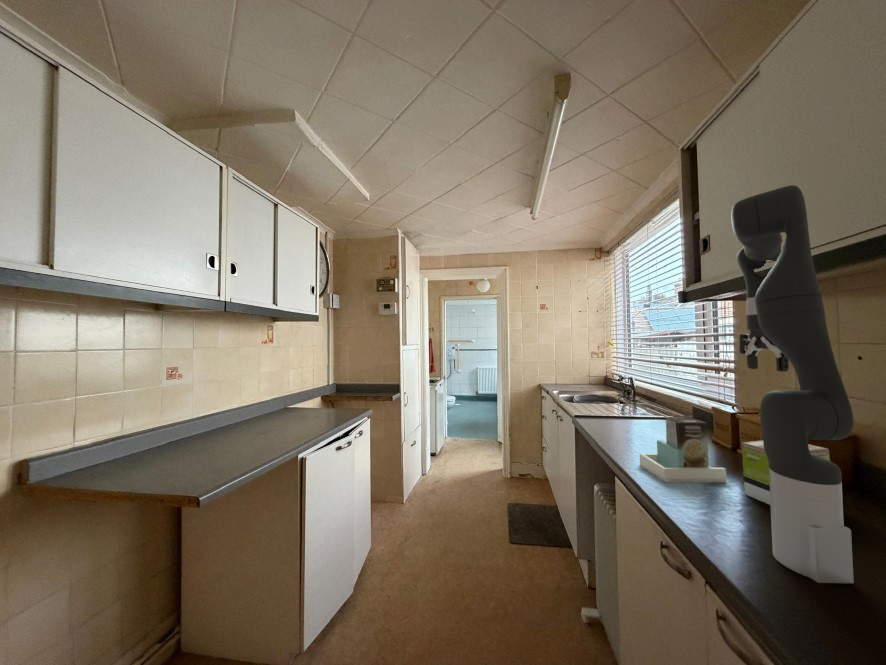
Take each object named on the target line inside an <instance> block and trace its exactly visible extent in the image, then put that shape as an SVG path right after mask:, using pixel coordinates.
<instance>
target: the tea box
mask: <svg viewBox="0 0 886 665" xmlns="http://www.w3.org/2000/svg"><path fill="white" fill-rule="evenodd" d="M808 447H809V451H810V453H811V454H812V455H814V456H817V457H820V458H823V459H826V460H828V461H831V458H830V450H829V448H827V447H823V446H818V445H813V444H809V443H808ZM741 454H742V467H743V482H744V483H743V485H744V486H743V487H744V493H745V495H746V496H747V497H751V498H753V499H756V500H757V501H759V502H762V503H764V502H765V503H764V504H767V505H769V506H771V502H770V477H769V461H768V458H767V455H766V453H765V450H764V444H763V439H762V440H761V439H760V440H755V441H744V442H741Z"/></svg>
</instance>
